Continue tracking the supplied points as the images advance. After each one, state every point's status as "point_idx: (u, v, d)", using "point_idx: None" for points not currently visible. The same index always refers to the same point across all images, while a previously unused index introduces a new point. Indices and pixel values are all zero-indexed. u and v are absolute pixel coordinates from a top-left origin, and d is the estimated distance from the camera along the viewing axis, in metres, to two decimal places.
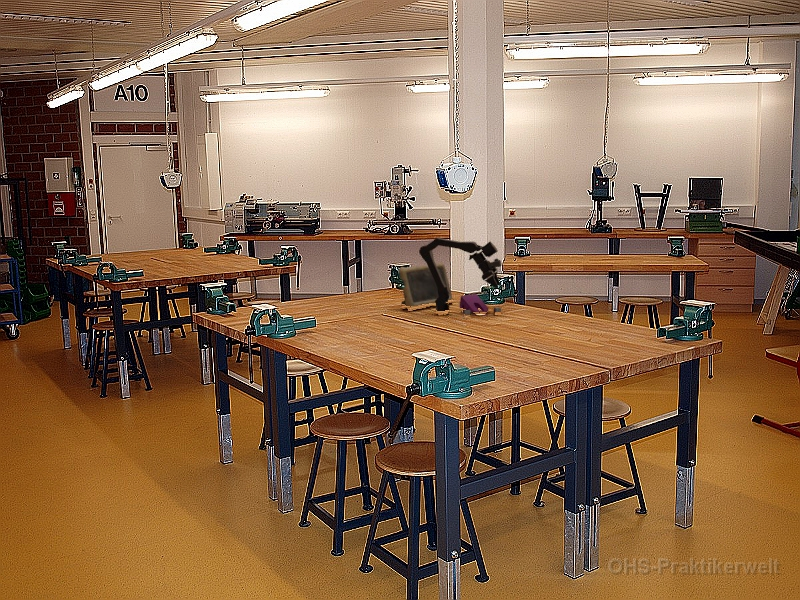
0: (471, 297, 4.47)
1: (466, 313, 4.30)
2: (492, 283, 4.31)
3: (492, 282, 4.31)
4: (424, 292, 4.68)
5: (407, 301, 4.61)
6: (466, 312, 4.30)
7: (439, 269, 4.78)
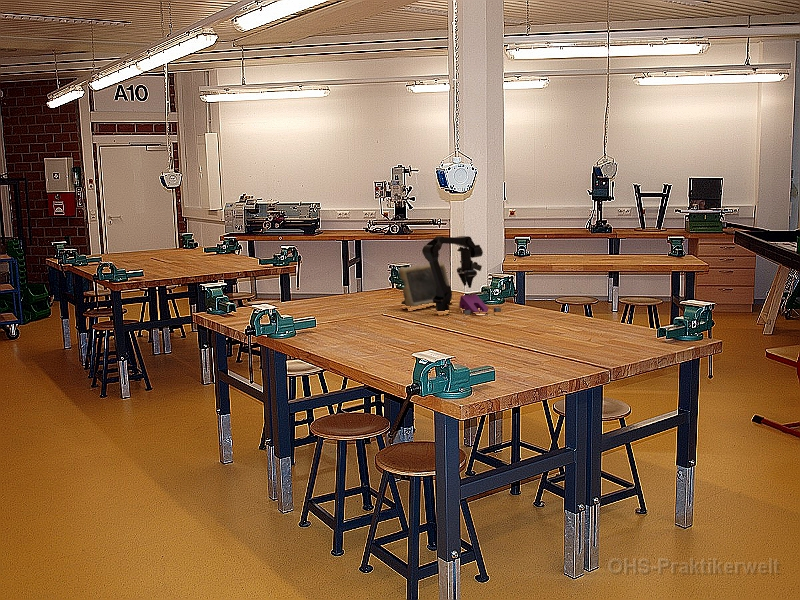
0: (471, 297, 4.47)
1: (466, 313, 4.30)
2: (469, 282, 4.50)
3: (469, 281, 4.50)
4: (424, 292, 4.68)
5: (407, 301, 4.61)
6: (466, 312, 4.30)
7: None
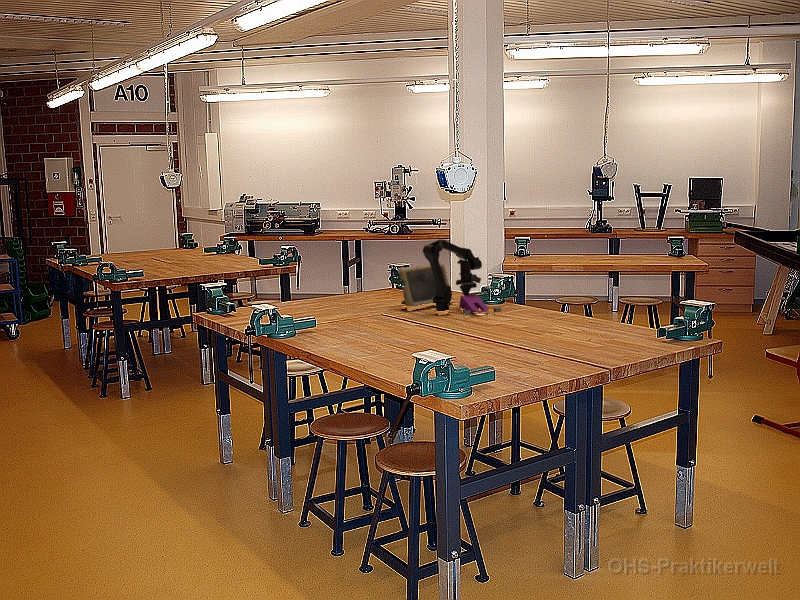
0: (471, 297, 4.47)
1: (466, 313, 4.30)
2: (466, 293, 4.55)
3: (466, 292, 4.55)
4: (424, 292, 4.68)
5: (407, 301, 4.61)
6: (466, 312, 4.30)
7: None
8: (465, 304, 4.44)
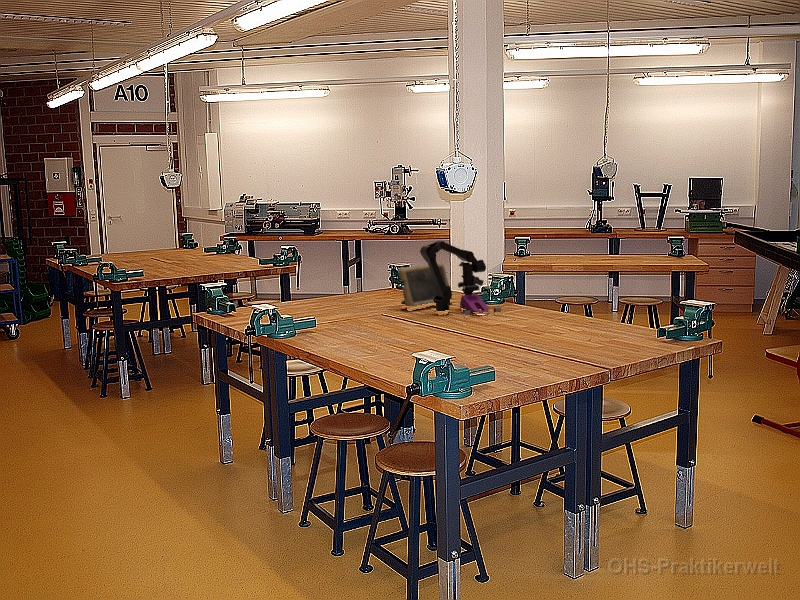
0: (472, 297, 4.47)
1: (466, 313, 4.30)
2: None
3: None
4: (424, 292, 4.68)
5: (407, 301, 4.62)
6: (466, 312, 4.30)
7: (439, 269, 4.78)
8: (465, 304, 4.44)
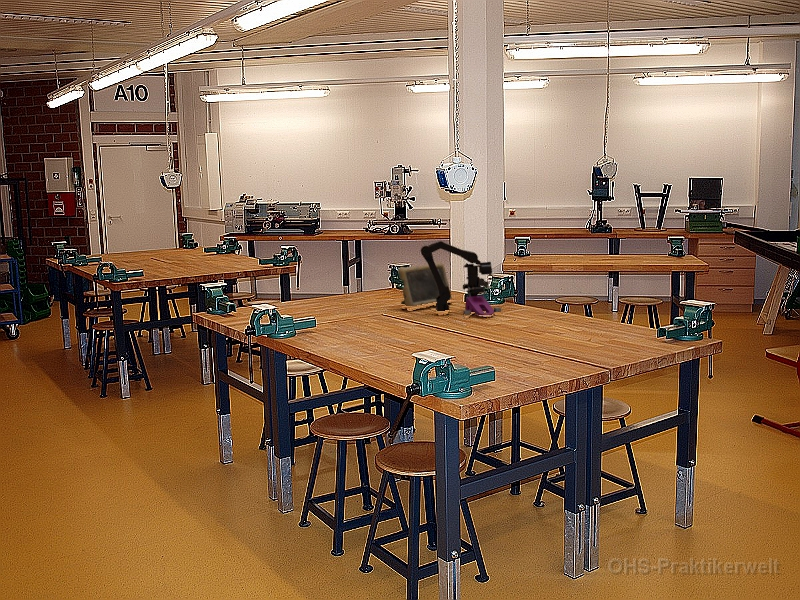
0: (477, 299, 4.39)
1: (466, 313, 4.30)
2: None
3: None
4: (424, 292, 4.68)
5: (407, 301, 4.62)
6: (466, 312, 4.30)
7: (438, 269, 4.78)
8: (470, 306, 4.36)
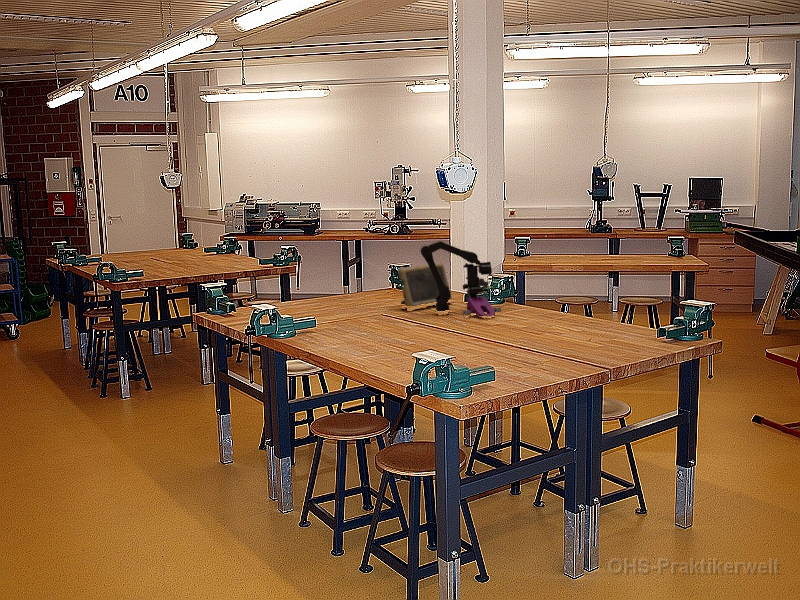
0: (479, 300, 4.37)
1: (466, 313, 4.30)
2: None
3: (473, 297, 4.44)
4: (424, 292, 4.68)
5: (407, 301, 4.62)
6: (466, 312, 4.30)
7: (438, 269, 4.78)
8: (471, 307, 4.34)
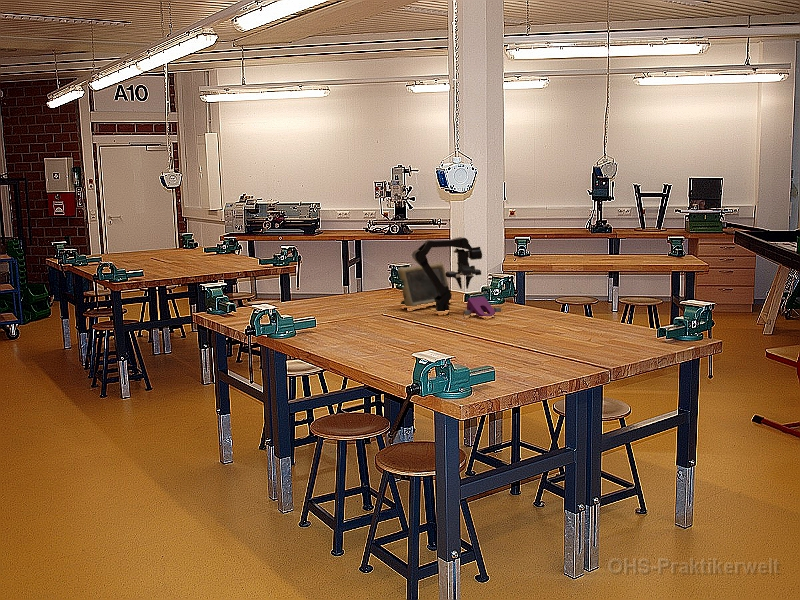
0: (479, 300, 4.37)
1: (466, 313, 4.30)
2: (458, 283, 4.47)
3: (458, 282, 4.47)
4: (423, 292, 4.68)
5: (406, 301, 4.62)
6: (466, 312, 4.30)
7: (438, 269, 4.78)
8: (471, 307, 4.34)
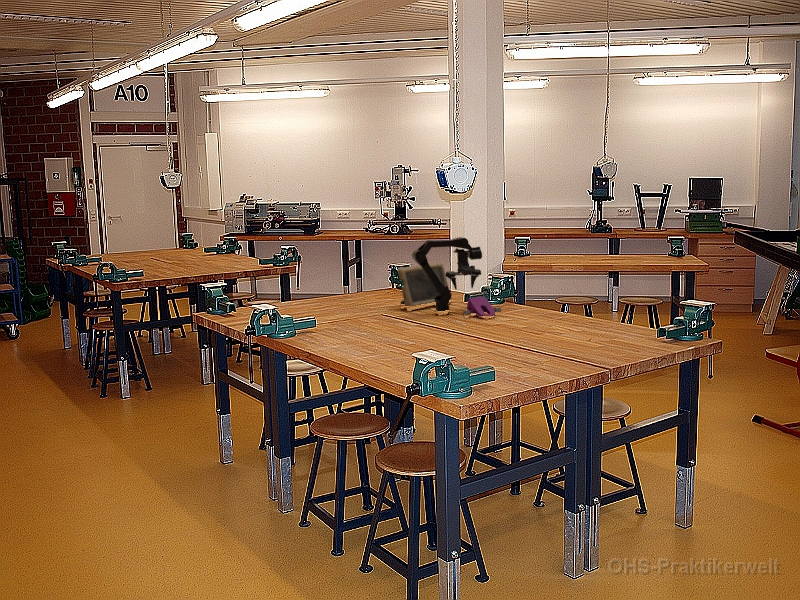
0: (479, 300, 4.37)
1: (466, 313, 4.30)
2: (453, 283, 4.46)
3: (453, 282, 4.46)
4: (423, 292, 4.68)
5: (406, 301, 4.62)
6: (466, 312, 4.30)
7: (438, 269, 4.79)
8: (472, 307, 4.34)
